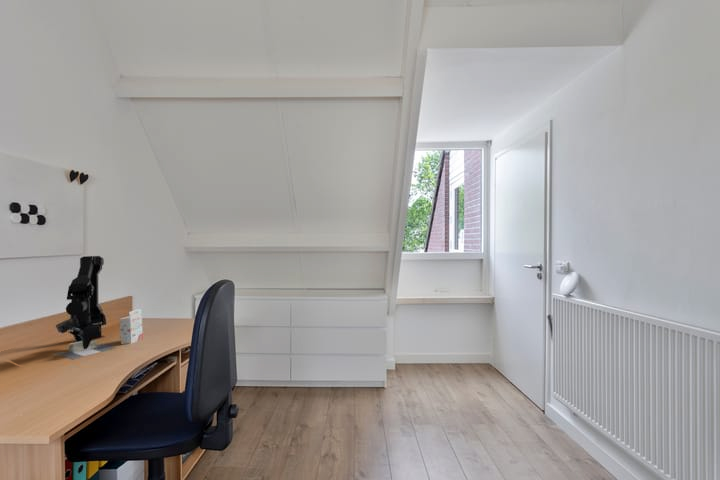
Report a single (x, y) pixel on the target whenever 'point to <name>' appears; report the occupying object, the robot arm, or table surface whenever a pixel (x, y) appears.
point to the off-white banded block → (81, 346)
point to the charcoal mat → (86, 352)
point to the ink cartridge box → (131, 327)
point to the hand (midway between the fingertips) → (82, 348)
